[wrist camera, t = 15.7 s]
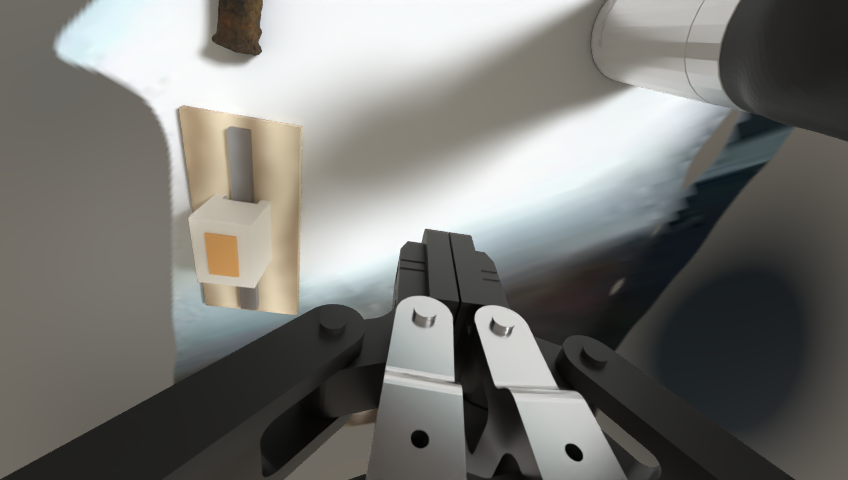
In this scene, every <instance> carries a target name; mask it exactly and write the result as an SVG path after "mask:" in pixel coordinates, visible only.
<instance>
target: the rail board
mask: <svg viewBox="0 0 848 480" xmlns="http://www.w3.org/2000/svg"><path fill="white" fill-rule="evenodd" d="M179 114H180V121H181V128H182V136H183V143H184V150H185V157H186V165H187V172H188V179H189V186H190V194H191V201H192V208H193V213H194V212H195V211H196V210H197V209H198V208H200V207H201V206H202V205H203V204H204V203H205V202H207V201H208V200H209V199H210V198H211V197H213V196H214V195H215V194H216V193H218V194H225V195H227V200H233V201H240V202H247V203H254V204H258V203H259V201H260V200H266V201H271V230H272V260H271V261H270V263H269V265H268V266H267V268H266V270H265V271H264V273H263V275H262V276H261V278H260V280H259V282H258V283H257V285H256V287H255V288H247V287H238V286H230V285H221V284H212V283H204V282H203V288H204V295H205V303H206V305H210V306H219V307H228V308H237V309H246V310H255V311H265V312H274V313H283V314H292V315H297V313H298V307H299V262H300V218H301V173H302V128H303V126H298V125H292V124H287V123H281V122H275V121H269V120H264V119H258V118H252V117H247V116H241V115H235V114H229V113H224V112H218V111H212V110H207V109H201V108H195V107H189V106H181V107H179Z"/></svg>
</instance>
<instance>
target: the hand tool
mask: <svg viewBox="0 0 848 480" xmlns="http://www.w3.org/2000/svg"><path fill="white" fill-rule="evenodd" d="M262 6H263V0H219V8H218V25H217V32H216V33H215V34H214V35H213V37H212V41H213V42H214V43H216V44H218V45H220V46H223V47H225V48H228V49H230V50H232V51H234V52H237V53H243V54H252V55H259V54H260V53H261V52H262V50H261V47H260V45H259V43H258V41H259V39H260V36H261V34H262V30H261V28H260V18H261V11H262Z"/></svg>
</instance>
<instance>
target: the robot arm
mask: <svg viewBox="0 0 848 480" xmlns="http://www.w3.org/2000/svg"><path fill="white" fill-rule="evenodd" d="M591 49H592V56H593V58H594V61H595V64H596V66H597V67H598V69H599V70H600V71H601V72H602V73H603V74H604V75H605V76H606V77H608V78H610V79H612V80H614V81H618V82H622V83H627V84H631V85H634V86H638V87H642V88H646V89H651V90H655V91H659V92H663V93H668V94H672V95H676V96H680V97H684V98H689V99H693V100H697V101H701V102H706V103H710V104H714V105H719V106H723V107H728V108H732V109H736V110H740V111H745V112H749V113H753V114H758V115H762V116H764V117H766V118H768V119H771V120H774V121H777V122H780V123H783V124H787V125H791V126H795V127H799V128H803V129H807V130H810V131H814V132H818V133H821V134H825V135H828V136H831V137H835V138H838V139H841V140H844V141H848V0H607V1H606V2H605V4H604V5H603V7H602V8H601V10H600V12H599V14H598V16H597V18H596V21H595V24H594V27H593V31H592V39H591ZM454 375H455V377H454ZM375 408H378V411H377V416H376V422H375V428H374V433H373V438H372V444H371V449H370V455H369V460H368V466H367V471H366V474H363V475H360V476H358V477H355V478H352V479H349V480H795V479H793V478H792V477H790V476H789V475H788V474H786V473H785V472H783V471H782V470H780V469H779V468H778V467H776V466H775V465H773V464H772V463H771V462H769V461H768V460H767V459H765V458H764V457H762V456H761V455H760V454H758V453H757V452H755V451H754V450H753V449H751V448H750V447H748V446H747V445H745V444H744V443H743V442H741V441H740V440H738V439H737V438H736V437H734V436H733V435H731V434H730V433H728V432H727V431H726V430H724V429H723V428H721V427H720V426H719V425H717V424H716V423H714V422H713V421H712V420H710V419H709V418H707V417H706V416H704V415H703V414H702V413H700V412H699V411H697V410H696V409H695V408H693V407H692V406H690V405H689V404H688V403H686V402H685V401H683V400H682V399H681V398H679V397H678V396H676V395H675V394H674V393H672V392H671V391H669V390H668V389H667V388H665V387H664V386H662V385H661V384H659V383H658V382H657V381H655V380H654V379H652V378H651V377H650V376H648V375H647V374H645V373H644V372H643V371H641V370H639V369H638V368H637V367H635V366H634V365H633V364H631V363H630V362H628V361H627V360H625V359H624V358H623V357H621V356H620V355H619V354H617V353H616V352H614V351H613V350H612V349H610V348H609V347H607V346H606V345H604V344H603V343H601V342H599V341H597V340H595V339H593V338H590V337H587V336H581V335H574V336H570V337H568V338H567V339H566V340H565V342H564V344H563V346H562V347H561V346H559V345H556V344H553V343H550V342H548V341H545V340H542V339H540V338H537V337H535V336H533V335H532V333H531V331H530V329H529V327H528V325H527V323H526V322H525V320H524V319H523V318H522V317H521V316H519V315H518V314H517V313H515V312H514V311H512V310H510V308H509V305H508V303H507V300H506V297H505V294H504V291H503V288H502V285H501V283H500V279H499V276H498V274H497V270H496V267H495V264H494V262H493V261H492V260H491V259H490V258H489V257H488V256H487V254H486V253H485V252H479V251H475V248H474V244H473V240H472V237H471V236H470V235H464V234H458V233H451V232H444V231H437V230H431V229H425V231H424V234H423V239H422V243H417V242H410V241H408V242H407V243H406V244H405V245H404V246H403V247H402V248H401V250H400V256H399V262H398V268H397V273H396V279H395V285H394V294H393V308H392V311H391V312H389V313H388V314H386V315H384V316H382V317H378V318H374V319H366V320H364V319H363V317H362V316H361V315H360V314H359V313H358V312H357V311H356V310H354V309H352V308H350V307H347V306H344V305H338V304H328V305H322V306H319V307H316V308H314V309H312V310H310V311H308V312H306V313H305V314H303V315H301V316H299V317H297V318H295V319H294V320H292V321H290V322H288V323H286V324H284V325H283V326H281V327H279V328H277V329H275V330H273V331H272V332H270V333H268V334H266V335H264V336H262V337H261V338H259V339H257V340H255V341H253V342H251V343H250V344H248V345H246V346H244V347H242V348H240V349H239V350H237V351H235V352H233V353H231V354H229V355H228V356H226V357H224V358H222V359H220V360H218V361H217V362H215V363H213V364H211V365H209V366H207V367H206V368H204V369H202V370H200V371H198V372H196V373H195V374H193V375H191V376H189V377H187V378H185V379H184V380H182V381H180V382H178V383H176V384H174V385H173V386H171V387H169V388H167V389H165V390H164V391H162V392H160V393H158V394H156V395H154V396H153V397H151V398H149V399H147V400H145V401H143V402H141V403H140V404H138V405H136V406H134V407H132V408H130V409H129V410H127V411H125V412H123V413H122V414H119V415H118V416H116V417H114V418H112V419H110V420H108V421H107V422H105V423H103V424H101V425H99V426H98V427H96V428H94V429H92V430H90V431H88V432H87V433H85V434H83V435H81V436H79V437H77V438H76V439H74V440H72V441H70V442H68V443H66V444H65V445H63V446H61V447H59V448H57V449H55V450H53V451H52V452H50V453H48V454H46V455H44V456H43V457H41V458H39V459H37V460H35V461H33V462H31V463H30V464H28V465H26V466H24V467H22V468H21V469H19V470H17V471H15V472H13V473H11V474H10V475H8V476H6V477H4V478H2V479H0V480H284V479H285V478H286V477H287V476H288V475H289V474H290V473H292V472H293V471H294V470H295V469H296V468H297V467H298V466H299V465H300V464H302V462H304V461H305V460H306V459H307V458H308V457H309V456H310V455H311V454H313V453H314V452H315V451H316V450H317V449H318V448H319V447H320V446H321V445H322V444H323V443H325V442H326V441H327V440H328V439H329V438H330V437H331V436H332V435H333V434H334V433H336V432H337V431H338V430H339V429H340V428H341V427H342V426H343V425H344V424H346V423H347V421H348V420H349V419H350V418H351V416H352V414H353V413H357V412H362V411H366V410H370V409H375ZM600 410H601V411H602V412H603V413H605V414H606V415H607V416H608V417H609V418H611V419H612V420H613V421H614V422H615V423H617V424H618V425H619V426H620V427H621V428H622V429H624V430H625V431H626V432H627V433H628V434H630V435H631V436H632V437H633V438H635V439H636V440H637V441H638V442H639V443H641V444H642V445H643V446H644V447H645V448H647V449H648V450H649V451H650V452H651V453H652V454H653V455H654V456H655V457H656V459H657V460H658V462H659V464H660V465H659V466H657V467H648V466H645V465H643V464H641V463H640V462H638V461H637V460H636V459H635V458H634V457H633V456H632V455H630V454H629V453H628V452H627V451H626V450H624V449H623V448H622V447H621V446H620V445H619V444H618V443H616V442H615V441H614V440H613V439H612V438H611V437H610V436H608V435H607V434H606V433H605V432H604V431H603V430H602V429H600V427H599V425H598V423H597V421H596V420H595V417H596V416H597V414H598V412H599V411H600Z"/></svg>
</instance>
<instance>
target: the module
mask: <svg viewBox="0 0 848 480" xmlns="http://www.w3.org/2000/svg"><path fill="white" fill-rule="evenodd" d="M188 221H189V227H190V234H191V241H192V247H193V254H194V261H195V268H196V274H197V281H198V282H204V283H212V284H221V285H230V286H238V287H247V288H255V287H256V285H257V283H258V282H259V280H260V278H261V276H262V275H263V273H264V271H265V270H266V268H267V266H268V265H269V263H270V261H271V260H272V230H271V201H266V200H260V201H259V203H258V204H254V203H247V202H240V201H233V200H227V195H225V194H218V193H216V194H215V195H214V196H213V197H211V198H210V199H209V200H208V201H207V202H205V203H204V204H203V205H202V206H201V207H200V208H198V209H197V210H196V211H195V212H194V213H192V214H191V215H190V216H189V217H188Z"/></svg>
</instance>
